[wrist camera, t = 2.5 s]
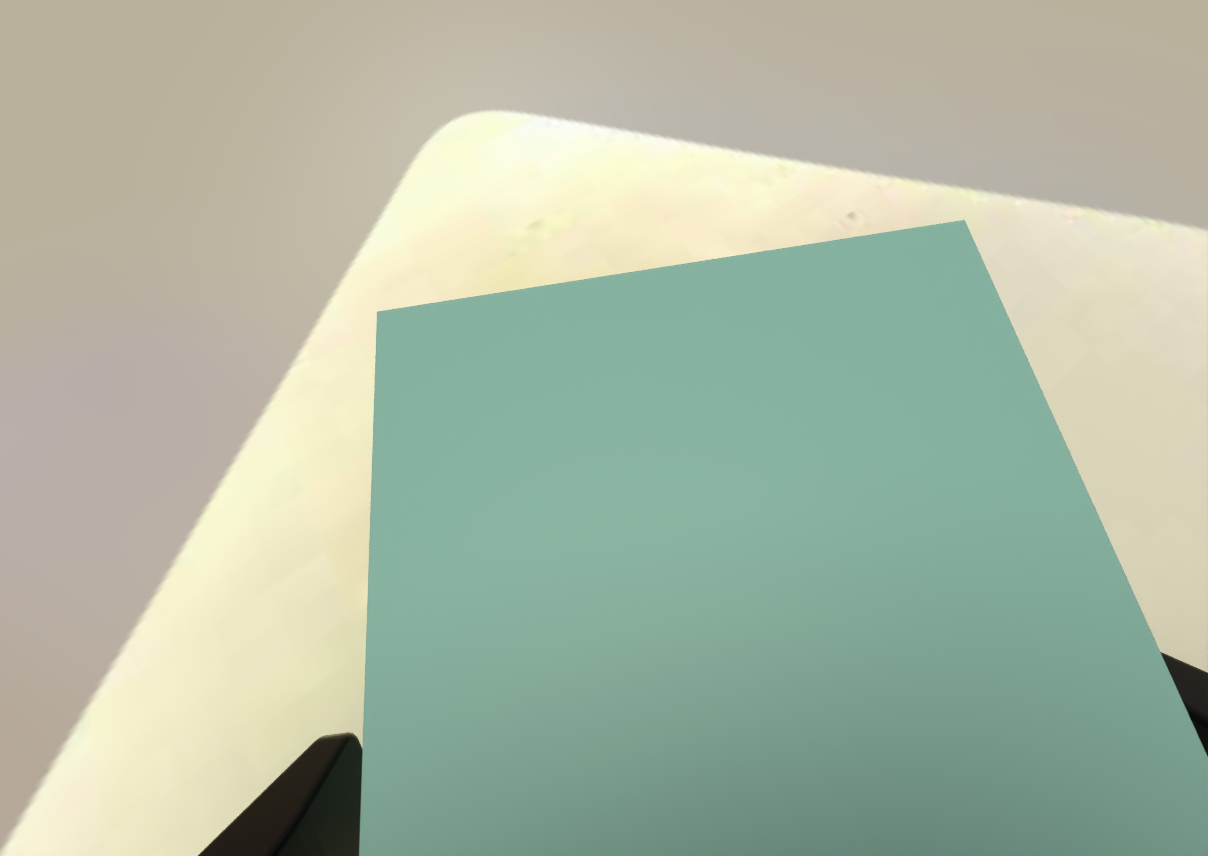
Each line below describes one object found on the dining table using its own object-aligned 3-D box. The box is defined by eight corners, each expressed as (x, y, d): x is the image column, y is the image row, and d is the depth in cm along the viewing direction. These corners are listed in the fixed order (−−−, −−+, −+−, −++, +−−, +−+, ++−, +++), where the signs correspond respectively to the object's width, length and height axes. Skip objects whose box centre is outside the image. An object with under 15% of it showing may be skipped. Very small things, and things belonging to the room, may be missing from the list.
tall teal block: (802, 756, 15) (1308, 980, 3) (597, 781, 15) (350, 1087, 3) (757, 551, 17) (965, 219, 5) (576, 576, 17) (377, 311, 5)
